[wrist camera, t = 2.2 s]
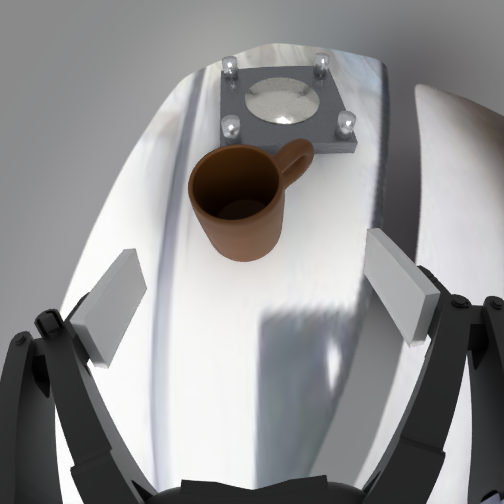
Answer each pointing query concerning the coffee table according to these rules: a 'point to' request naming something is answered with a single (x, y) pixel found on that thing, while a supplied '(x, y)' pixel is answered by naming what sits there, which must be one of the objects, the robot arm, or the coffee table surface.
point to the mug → (245, 195)
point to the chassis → (284, 107)
